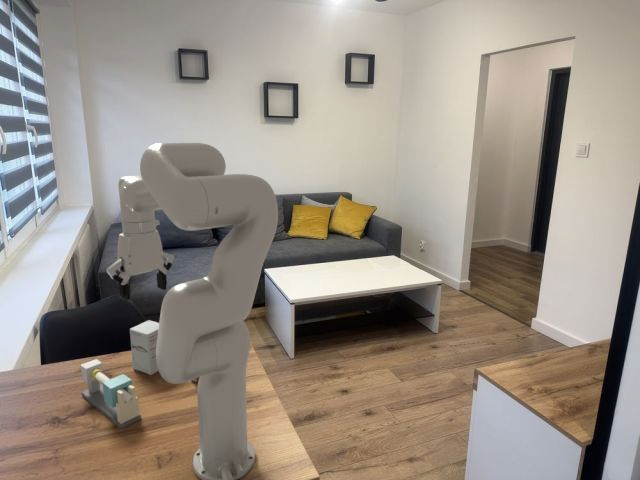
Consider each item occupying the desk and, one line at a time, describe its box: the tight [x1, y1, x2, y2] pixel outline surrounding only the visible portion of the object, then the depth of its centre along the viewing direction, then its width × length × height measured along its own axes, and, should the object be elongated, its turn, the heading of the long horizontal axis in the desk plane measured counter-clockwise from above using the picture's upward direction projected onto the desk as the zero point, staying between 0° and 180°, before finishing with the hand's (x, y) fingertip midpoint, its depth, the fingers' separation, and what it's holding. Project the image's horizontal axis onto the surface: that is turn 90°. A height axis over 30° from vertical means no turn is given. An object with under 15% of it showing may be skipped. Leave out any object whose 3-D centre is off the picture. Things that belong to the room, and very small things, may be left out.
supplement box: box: [129, 319, 159, 376], centre depth 126 cm, size 7×7×13 cm
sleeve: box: [102, 373, 133, 408], centre depth 104 cm, size 4×5×5 cm
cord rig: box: [80, 358, 142, 429], centre depth 108 cm, size 20×5×8 cm, turn 51°
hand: (144, 293), depth 111 cm, fingers open, 9 cm apart
